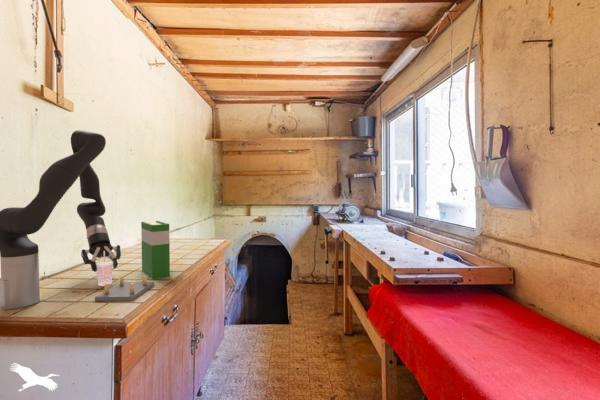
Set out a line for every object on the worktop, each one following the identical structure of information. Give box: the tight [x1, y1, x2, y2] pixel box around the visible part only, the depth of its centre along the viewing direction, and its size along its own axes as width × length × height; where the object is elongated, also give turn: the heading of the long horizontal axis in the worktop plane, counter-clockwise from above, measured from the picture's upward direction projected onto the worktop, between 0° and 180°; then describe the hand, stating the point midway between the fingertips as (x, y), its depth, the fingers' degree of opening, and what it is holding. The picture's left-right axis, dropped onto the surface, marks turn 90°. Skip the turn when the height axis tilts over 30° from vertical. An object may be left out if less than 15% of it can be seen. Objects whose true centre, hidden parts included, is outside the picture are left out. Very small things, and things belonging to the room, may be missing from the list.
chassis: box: [94, 275, 155, 302], centre depth 106 cm, size 16×13×5 cm
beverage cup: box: [96, 251, 113, 287], centre depth 116 cm, size 6×6×14 cm
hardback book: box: [140, 220, 171, 280], centre depth 131 cm, size 18×7×24 cm, turn 43°
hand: (105, 268), depth 114 cm, fingers closed on beverage cup, 6 cm apart
